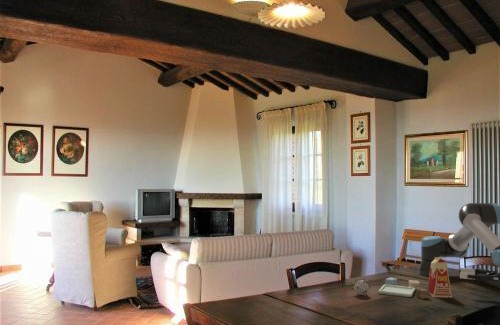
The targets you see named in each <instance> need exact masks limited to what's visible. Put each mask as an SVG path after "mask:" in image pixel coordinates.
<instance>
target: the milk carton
mask: <svg viewBox="0 0 500 325" xmlns="http://www.w3.org/2000/svg"><path fill="white" fill-rule="evenodd" d="M441 257H442V256H441ZM441 257H434V258H435V259H434V260H433V261H432V262H431V267H430V273H429V276H428V284H427V285H428V286H427V290H429V295H431V297H433V298H448V297H449V298H453V296H452V289H451V284H450V278H449V271H448V262H447V261H446V260H444V259H441ZM442 258H443V257H442Z"/></svg>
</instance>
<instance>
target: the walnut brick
mask: <svg viewBox="0 0 500 325" xmlns="http://www.w3.org/2000/svg"><path fill="white" fill-rule="evenodd" d="M429 295H430V294H429V290H428V288H427V289H426V288H424V287H423V288H420V289H417V290H416V297H417V298H418V299H423V300H424V298H425V299H429V298H430V296H429Z"/></svg>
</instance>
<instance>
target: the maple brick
mask: <svg viewBox="0 0 500 325" xmlns="http://www.w3.org/2000/svg"><path fill="white" fill-rule="evenodd" d="M408 287H414V288H415V291H417V289H421V282H420V281H419V280H411V279H409V280H408Z"/></svg>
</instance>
